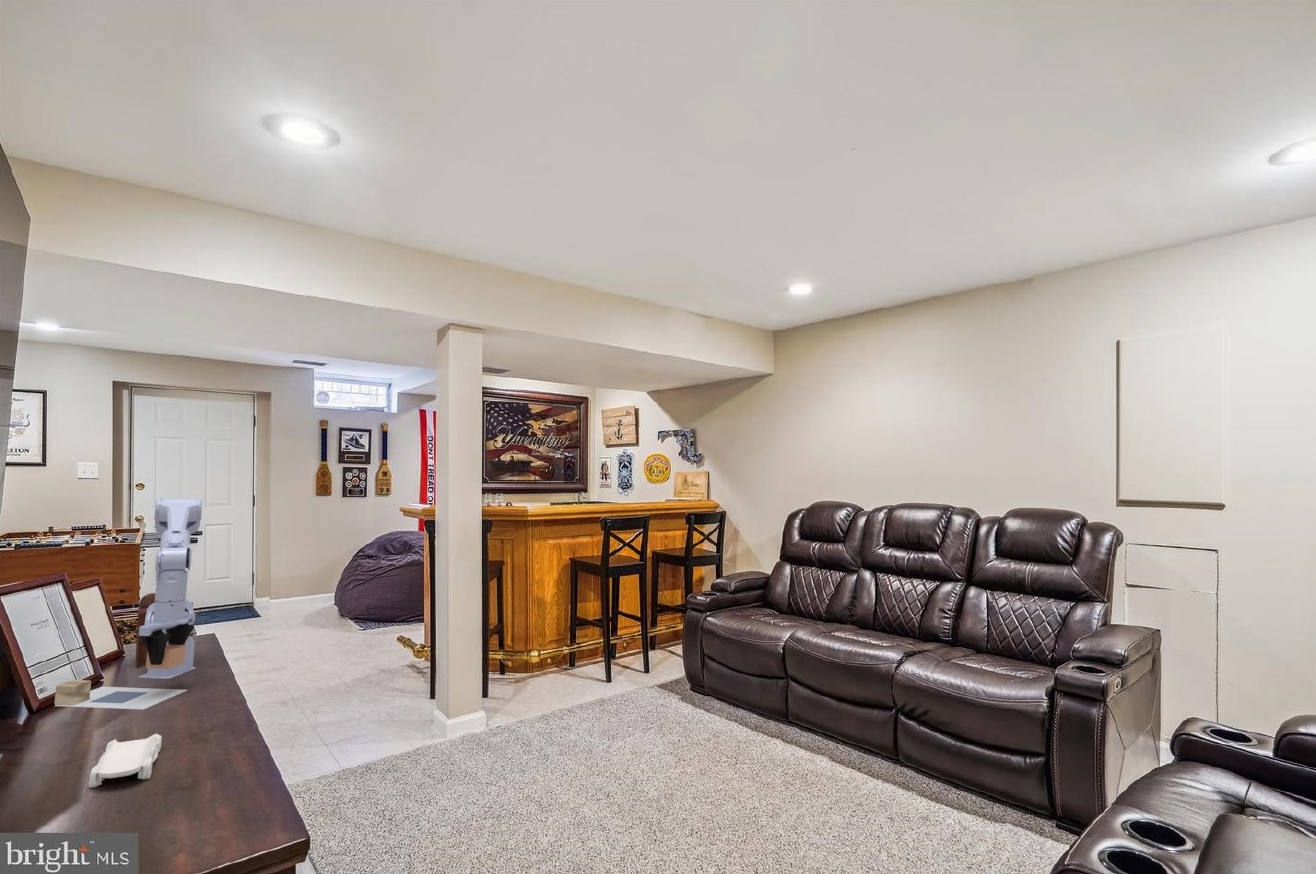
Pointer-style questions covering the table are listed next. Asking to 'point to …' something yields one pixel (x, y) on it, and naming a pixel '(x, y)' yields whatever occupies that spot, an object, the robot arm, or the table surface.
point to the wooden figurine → (142, 611)
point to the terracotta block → (170, 657)
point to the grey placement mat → (126, 697)
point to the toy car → (126, 759)
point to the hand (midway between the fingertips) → (165, 661)
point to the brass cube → (72, 692)
